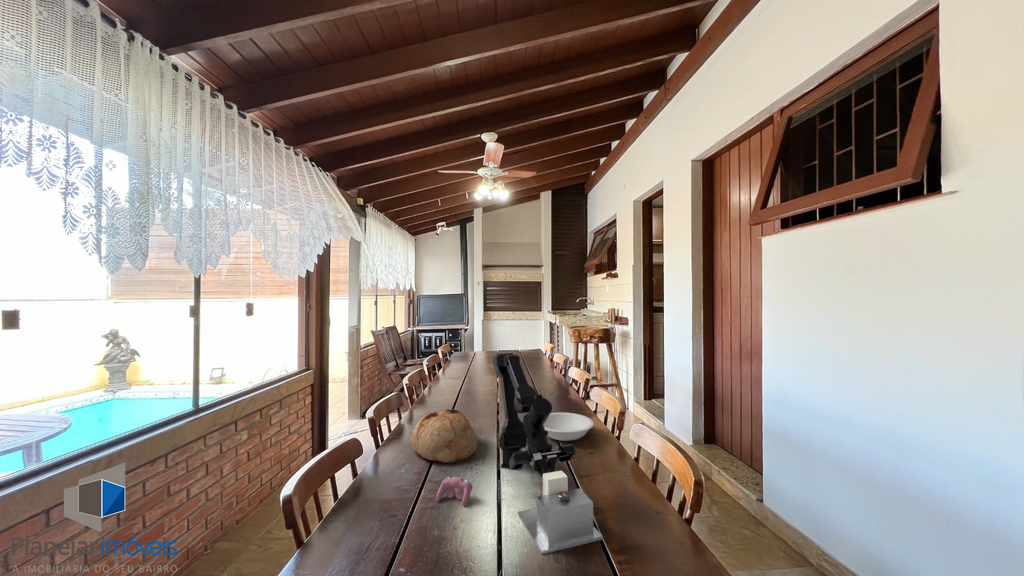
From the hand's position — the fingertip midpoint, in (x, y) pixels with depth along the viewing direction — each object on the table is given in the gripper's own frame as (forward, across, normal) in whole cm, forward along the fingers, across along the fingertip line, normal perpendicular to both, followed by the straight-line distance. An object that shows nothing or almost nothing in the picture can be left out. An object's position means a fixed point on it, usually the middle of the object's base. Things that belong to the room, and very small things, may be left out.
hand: (552, 488), depth 100 cm
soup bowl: (-30, -28, -41) cm, 58 cm away
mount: (+8, 0, -3) cm, 9 cm away
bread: (-32, +21, -44) cm, 58 cm away
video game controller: (-7, +23, -19) cm, 31 cm away
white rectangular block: (+9, 0, -1) cm, 9 cm away
